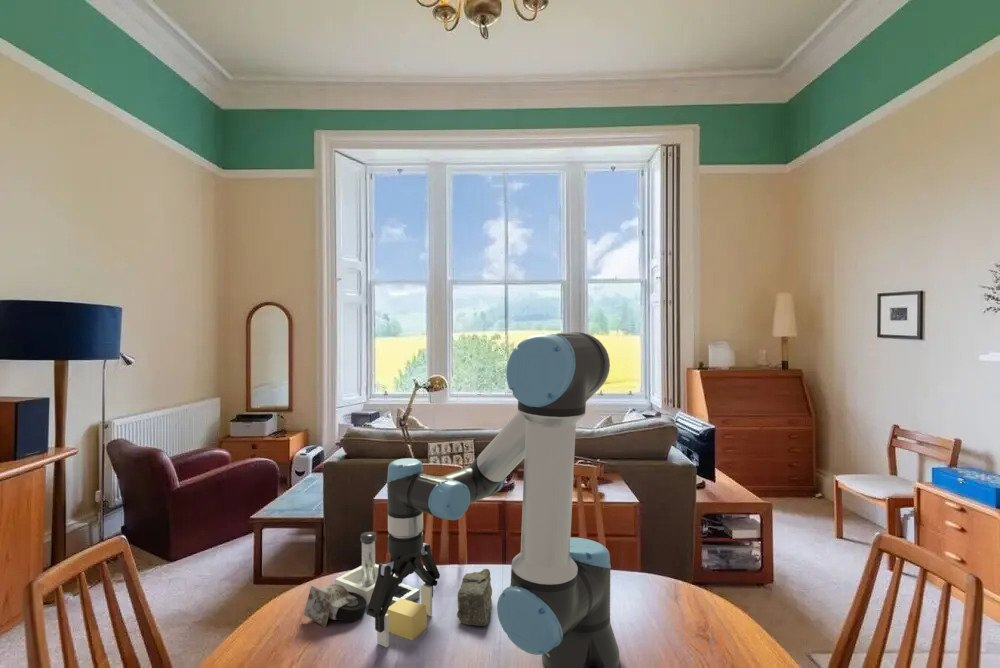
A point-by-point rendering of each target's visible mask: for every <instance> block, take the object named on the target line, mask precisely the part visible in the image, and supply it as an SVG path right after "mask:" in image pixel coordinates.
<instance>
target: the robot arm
mask: <svg viewBox="0 0 1000 668" xmlns="http://www.w3.org/2000/svg"><path fill="white" fill-rule="evenodd" d="M610 368H611V364H610V357H609V353H608V351H607V349H606V347H605V346H604V344H603V343H602V341H600V340H599V339H597V338H596V337H595V336H593V335H592V334H589V333H585V332H579V331H577V332H575V331H574V332H555V333H554V332H547V333H544V332H543V333H540V334H535V335H531V336H528V337H526V338H525V339H523V340H522V341H521V342H519V344H518V345H516V346H515V347H514V349H513V350H512V352H511V354H510V355H509V358H508V361H507V365H506V369H505V370H506V371H505V373H506V375H505V376H506V382H507V386H508V389H510V390H511V391H512V394H511V395H513V397H514V398H515V399H516V400H517V412H516V413H515V414H514V415H513V416H512V418H511V419H510V420H509V421H508V422H507V423H506V424H505V426H504V427H503V428H502V429H501V430H500V431H499V432H498V434H496V436H495V437H494V438H493V439H492V440H491V442H489V443H488V445H486V446H485V448H484V449H483V450H482V451H481V452H480V454H478V456H477V457H476V458H475V459H474V460H473V462H472V463H471V464H470V465H468V466H466V467H463V468H461V469H458V470H455V471H453V472H450V473H447V474H444V475H441V476H440V475H439V476H437V475H432V474H427V473H424V471H425V470H424V467H423V462H422V461H421V460H420V459H417V458H411V457H408V458H407V457H406V458H400V459H399V458H398V459H395V460H393V461H391V462H390V463H389V464H388V467H387V480H386V483H387V485H386V487H387V490H386V491H387V494H386V495H387V532H388V535H387V551H388V553H389V555H390V557H389V559H390V560H389V562H388V563H383V562H382V563H379V564H378V565H379V567H378V577H377V580H376V583H375V586H374V590H373V593H372V596H371V600H370V603H369V605H368V606H367V610H366V615H367V616H369V617H372V618H374V630H375V631H376V642H377V644H378V645H380V646H382V647H384V648H389V647H390V632H389V614H386V612H387V610H388V608H389V606H390V603H391V601H392V599H393V597H395V596H394V594H395V592H396V590H397V588H398V585H399V584H401V583H403V581H404V579H405V578H407V577H408V576H409V575H412V574H414V573H415V574H416V575H417V576H418V577H419V578H420V580H422V581H423V583H421V584H420V604H421V605H425V606H426V615H427V616H429V617H431V616H433V597H434V587H436V586H438V580H439V579H440V577H441V573H440V571H439V569H438V567H437V565H436V562H435V559H434V557H433V554H432V547H431V544H429V543H425V542H424V532H423V530H424V513H425V514H428V515H432V516H433V517H436V518H438V519H442V520H450V521H457V520H459V519H461V518H463V516H464V514H465V513H466V512H467V511H468V509H469V507H470V505H471V504H473V503H475V502H478V501H481V500H483V499H485V498H489V497H491V496H493V495H495V494H496V493H497V492H499V491H500V490H501V489H503V486H504V483H505V479H506V478H507V477H508V475H510V473H511V472H512V471H513V470H514V469H515V468H516V467H517V466H518V465H519V464H520V463H521V462H522V461H523V460H524V462H523V484H522V485H523V486H522V489H523V490H522V507H521V508H522V510H521V511H522V513H521V532H520V533H521V535H520V538H521V539H520V552H519V553H517V555H515V556H514V557H513V558H512V560H511V565H510V566H511V567H510V568H511V569H510V584H509V586H507V587H506V588H505V589H503V590H502V592H501V594H500V595H499V597H498V600H497V605H496V610H497V611H496V612H497V618H498V621H499V624H500V625H501V628H502V630H503V632H504V633H505V634H506V635H507V637H508V639H509V640H510V641H511V642H512V643H513V644H514V645H515V646H516V647H517V648H519V649H520V650H522V651H524V652H525V653H527V654H530V655H533V656H539V655H541V660H542V662H543V663H542V664H543V665H544V667H545V668H619V667H620V650H619V646H618V642H617V638H616V636H615V634H614V633H615V632H614V629H613V628H612V624H611V568H612V565H611V557H610V556H611V555H610V551H609V550H608V548H607V547H605V545H604V544H602V543H600V542H597V541H595V540H592V539H587V538H584V537H583V538H581V537H575V536H574V537H572V536H571V535H572V534H571V533H572V515H573V514H572V513H573V512H572V511H573V510H572V509H573V494H574V493H573V491H574V490H573V489H574V468H575V451H576V450H575V449H576V431H577V430H576V428H577V423H578V422H579V421H580V420H581V419H582V418H583V417H585V415H586V406H587V402H588V401H589V400H590V399H591V397H592V396H594V395H595V394H596V393H597V392H598V391H599V390H600V389H601V388H602V386H603V385H604V384H605V382H606V381H607V379H608V377H609V373H610V370H611V369H610ZM420 559H421V561H422V562H421V561H420ZM422 563H423V564H422ZM394 574H395V575H396V576H398V578H396V577H393V575H394Z"/></svg>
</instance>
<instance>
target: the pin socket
mask: <svg viewBox="0 0 1000 668" xmlns="http://www.w3.org/2000/svg"><path fill="white" fill-rule="evenodd" d="M397 595H402V596H401V597H397ZM401 598H402V599H405V600H409V601H412V602H415V601H417V600H418V599H421V588H416V587H414V586H412V585H408V584H406V583H403V582H402V583H401V584H399V585H398V588H397V590H396V592H395V594H394V597H393V599H392V601H391V603H390V606H391V605H392V604H394V603H395V602H397V601H398V600H399V599H401ZM390 606H389V607H390Z"/></svg>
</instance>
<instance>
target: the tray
mask: <svg viewBox="0 0 1000 668" xmlns="http://www.w3.org/2000/svg"><path fill="white" fill-rule="evenodd" d="M379 565H380V564H378V563H375V583H376V580H377V577H378V567H379ZM393 577H396V578H398V576H396V575H395V574H394V575H393ZM334 584H338V585H341V586H343V587H344V588H345V589H346V590H347V591H348V592H354V593H357V594H359V595H361V596H362V597H364V599H365V600H366V607H368V606H369V603H370V600H371V596H372V593H373V590H374V586H375V584H373V585H371V586H370V587H368V588H366V587H363V586H362V565H360V566H358V567H356V568H353V569H352V570H350V571H348V572H346V573H344V574H343V575H340V576H339V577H336V578H335V579H334Z"/></svg>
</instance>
